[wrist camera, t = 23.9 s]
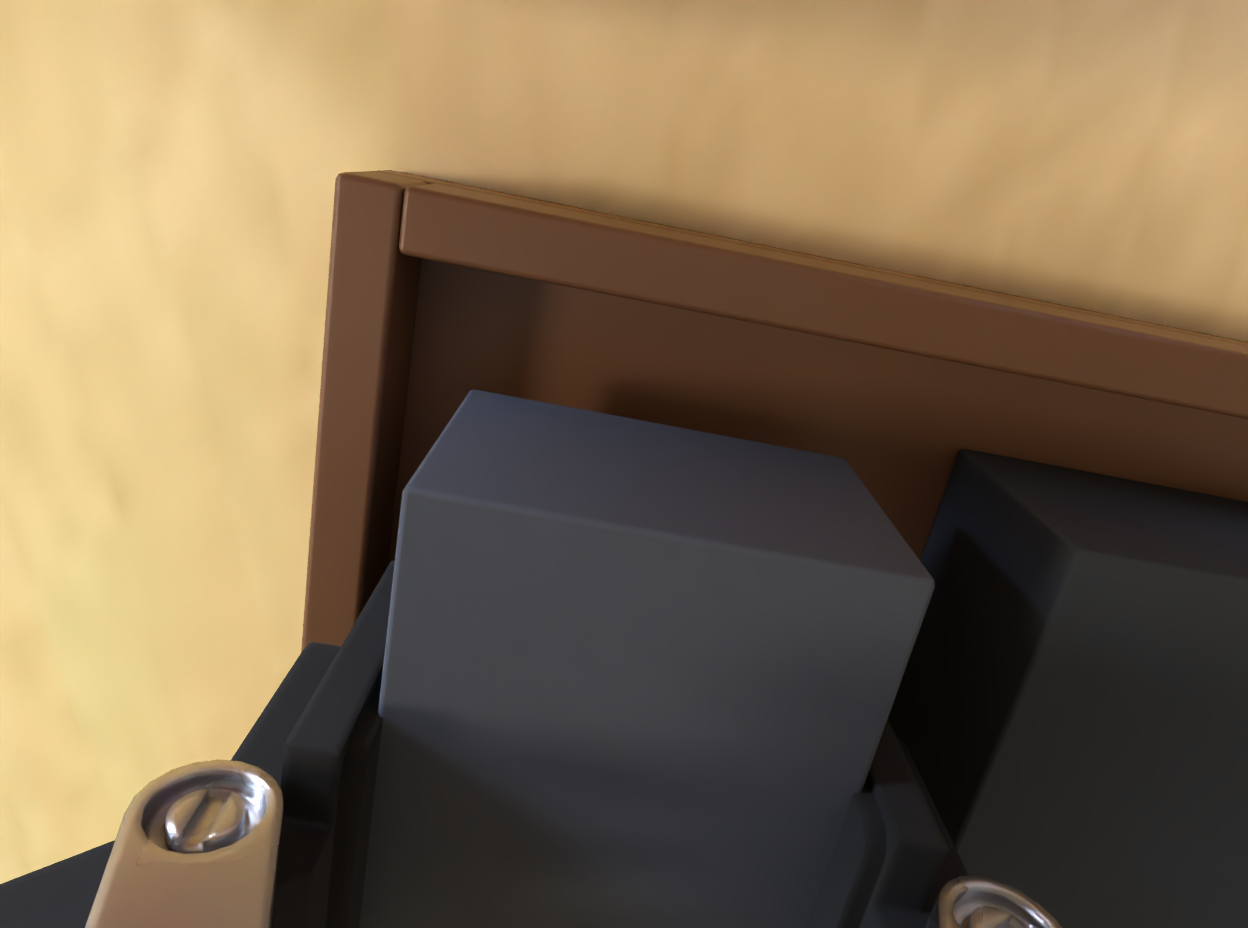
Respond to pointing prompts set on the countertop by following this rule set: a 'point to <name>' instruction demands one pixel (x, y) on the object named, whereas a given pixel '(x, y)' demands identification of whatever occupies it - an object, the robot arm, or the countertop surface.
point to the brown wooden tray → (719, 363)
